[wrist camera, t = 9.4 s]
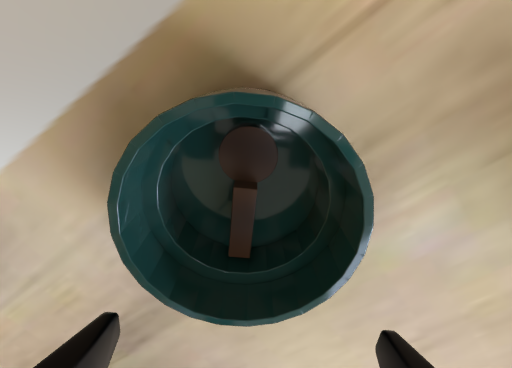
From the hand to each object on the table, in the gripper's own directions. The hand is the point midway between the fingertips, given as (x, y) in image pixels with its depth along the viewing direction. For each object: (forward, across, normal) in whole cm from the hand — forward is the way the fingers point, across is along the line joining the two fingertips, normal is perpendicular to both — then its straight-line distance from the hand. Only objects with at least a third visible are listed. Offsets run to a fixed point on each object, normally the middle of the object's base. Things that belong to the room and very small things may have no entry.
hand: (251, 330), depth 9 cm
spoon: (+11, +1, -1) cm, 11 cm away
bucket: (+11, +1, -1) cm, 11 cm away
